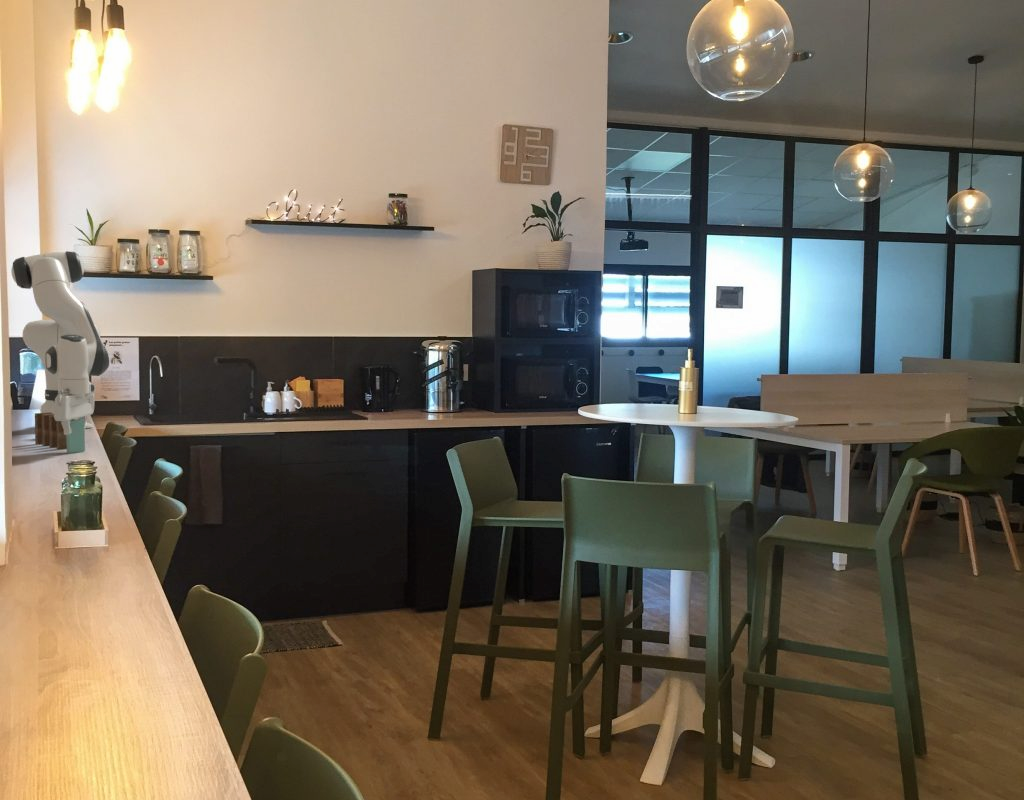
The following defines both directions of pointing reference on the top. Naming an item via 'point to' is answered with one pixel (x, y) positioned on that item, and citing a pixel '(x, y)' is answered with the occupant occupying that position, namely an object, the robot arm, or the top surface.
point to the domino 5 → (76, 437)
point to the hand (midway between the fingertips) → (74, 432)
